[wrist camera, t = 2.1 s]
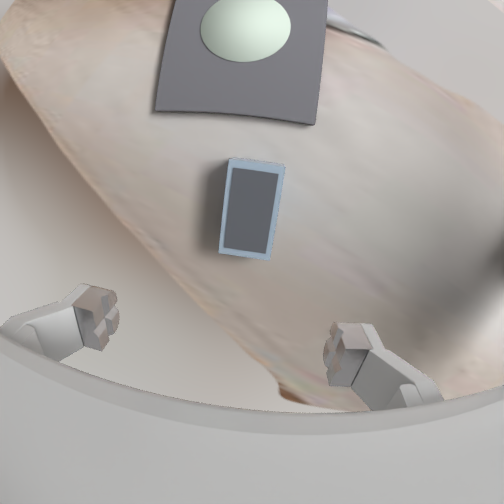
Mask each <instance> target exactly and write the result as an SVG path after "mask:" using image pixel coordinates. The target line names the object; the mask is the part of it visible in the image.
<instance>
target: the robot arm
mask: <svg viewBox="0 0 504 504" xmlns="http://www.w3.org/2000/svg"><path fill="white" fill-rule="evenodd" d="M116 302H117V297H116V293H115V292H114V291H112V290H108V289H104V288H100V287H96V286H92V285H88V284H80V285H79V286H78V287H77V288H75V289H74V290H73V291H72V292H71V293H70V294H69V295H68V296H67V297H66V298H64V299H63V300H62V301H61V302H55V303H52V304H49V305H46V306H43V307H40V308H36V309H33V310H30V311H27V312H24V313H21V314H18V315H15V316H12V317H10V318H9V320H7V321H6V322H5V323H4V324H3V325H2V326H1V327H0V504H504V385H501V386H498V387H495V388H492V389H489V390H485V391H482V392H478V393H475V394H471V395H467V396H463V397H459V398H454V399H450V400H445V401H444V399H443V397H442V395H441V393H440V391H439V389H438V387H437V385H436V384H435V382H434V380H432V379H431V378H429V377H428V376H426V375H425V374H424V373H422V372H421V371H419V370H418V369H416V368H415V367H413V366H412V365H410V364H409V363H407V362H406V361H405V360H403V359H402V358H400V357H399V356H397V355H396V354H394V353H393V352H391V351H390V350H386V349H385V347H384V346H383V344H382V342H381V340H380V338H379V336H378V334H377V332H376V330H375V328H374V326H373V325H372V324H371V323H339V322H334V323H333V324H332V326H331V329H330V334H331V337H330V338H329V339H328V340H326V343H325V347H324V353H323V360H324V364H325V365H326V366H327V367H328V370H327V378H328V382H329V386H346V387H351V388H352V389H353V391H354V392H355V393H356V394H357V395H358V396H359V397H360V398H361V399H362V400H363V401H364V402H365V404H366V405H367V406H368V407H369V408H370V409H371V410H372V411H363V412H345V413H292V412H291V413H290V412H273V411H260V410H250V409H241V408H232V407H224V406H217V405H211V404H205V403H199V402H193V401H188V400H183V399H178V398H173V397H168V396H164V395H159V394H155V393H151V392H147V391H143V390H140V389H136V388H132V387H129V386H125V385H122V384H119V383H115V382H112V381H109V380H106V379H102V378H100V377H97V376H94V375H91V374H88V373H85V372H83V371H80V370H77V369H75V368H72V367H70V366H67V365H65V364H62V363H60V362H59V361H61V360H62V359H64V358H66V357H68V356H69V355H71V354H73V353H74V352H76V351H78V350H79V349H81V348H83V347H84V346H86V347H89V348H93V349H96V350H99V351H102V350H103V349H104V347H105V346H106V345H107V343H108V342H109V337H108V336H109V335H112V334H114V333H115V331H116V330H117V328H118V324H119V311H118V309H117V308H116V307H115V303H116Z"/></svg>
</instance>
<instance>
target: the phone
mask: <svg viewBox="0 0 504 504" xmlns="http://www.w3.org/2000/svg"><path fill="white" fill-rule="evenodd" d="M284 173H285V166H284V165H283V164H278V163H272V162H265V161H258V160H251V159H244V158H236V157H233V158H231V159H229V163H228V171H227V179H226V187H225V196H224V204H223V213H222V223H221V232H220V242H219V252H218V253H222V254H228V255H235V256H242V257H249V258H255V259H262V260H269V261H270V256H271V250H272V245H273V239H274V233H275V227H276V221H277V216H278V210H279V204H280V198H281V192H282V185H283V179H284Z"/></svg>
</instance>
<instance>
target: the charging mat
mask: <svg viewBox="0 0 504 504" xmlns="http://www.w3.org/2000/svg"><path fill="white" fill-rule="evenodd" d="M327 6H328V0H176V2H175V6H174V10H173V14H172V18H171V22H170V26H169V31H168V35H167V40H166V45H165V50H164V55H163V60H162V66H161V72H160V78H159V84H158V91H157V98H156V106H155V110H156V111H178V112H207V113H223V114H235V115H246V116H255V117H263V118H271V119H278V120H285V121H291V122H298V123H303V124H309V125H315V121H316V114H317V106H318V98H319V90H320V81H321V72H322V63H323V53H324V43H325V32H326V20H327Z"/></svg>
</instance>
